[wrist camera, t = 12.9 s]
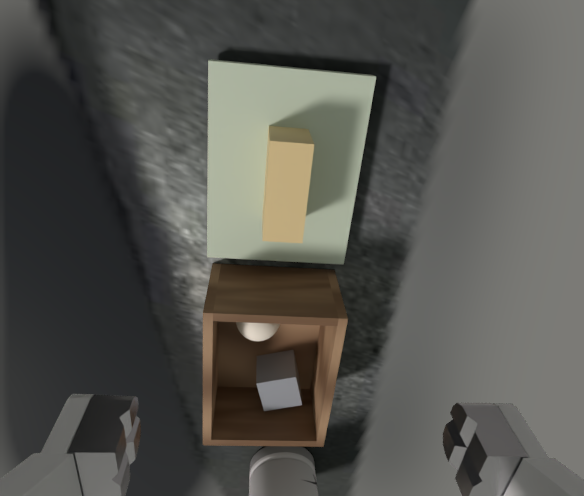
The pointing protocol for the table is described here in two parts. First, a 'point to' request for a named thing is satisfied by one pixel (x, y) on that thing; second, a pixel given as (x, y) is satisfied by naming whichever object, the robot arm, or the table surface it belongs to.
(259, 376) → the slate cube
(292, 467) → the travel mug
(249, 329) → the cream ball
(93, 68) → the table surface
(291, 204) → the lid
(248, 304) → the walnut box
